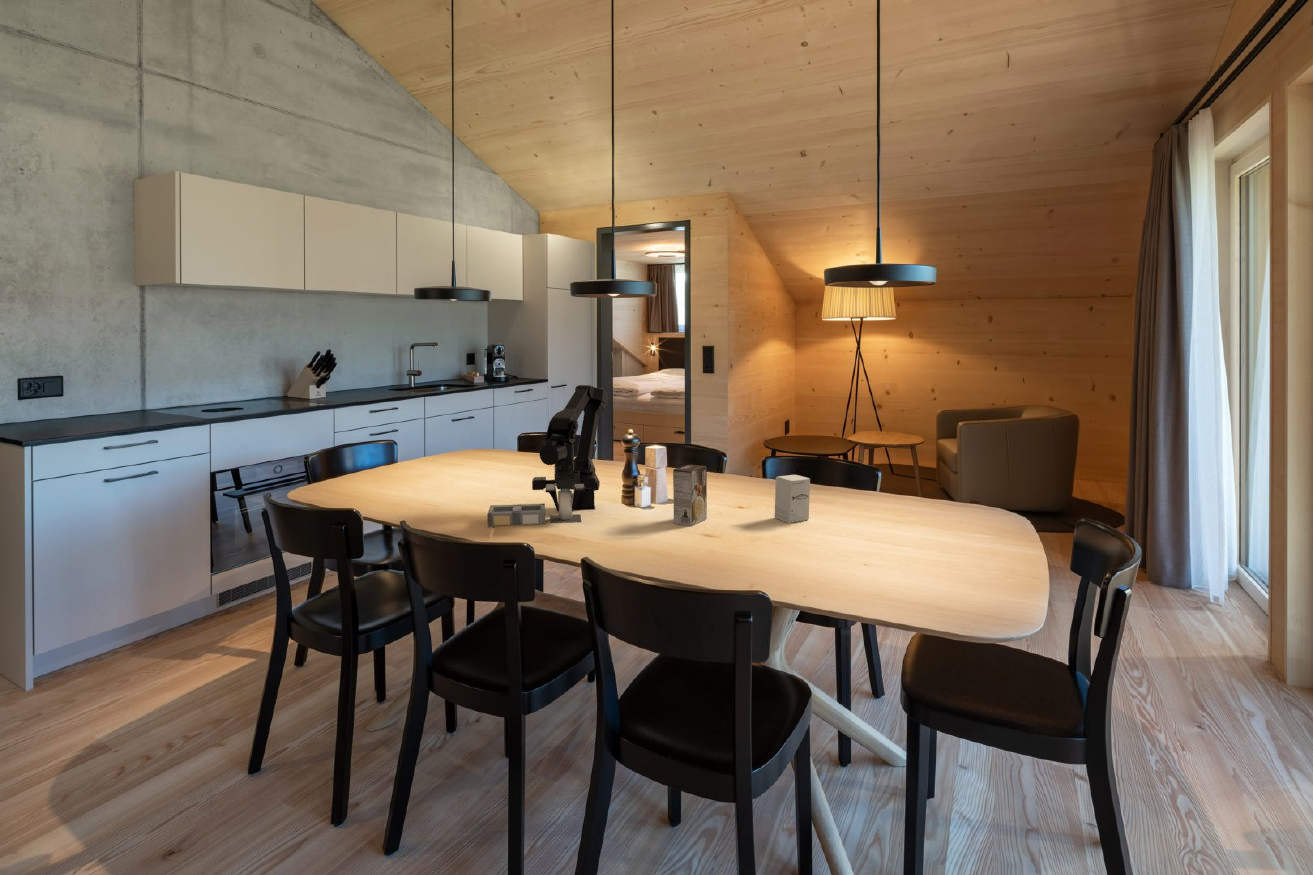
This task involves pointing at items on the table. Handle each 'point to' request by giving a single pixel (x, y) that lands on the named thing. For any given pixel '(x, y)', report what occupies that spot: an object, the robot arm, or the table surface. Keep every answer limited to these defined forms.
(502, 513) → the socket block
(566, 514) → the beige and green cylinder
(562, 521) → the mat
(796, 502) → the supplement box
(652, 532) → the table surface
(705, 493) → the coffee box
